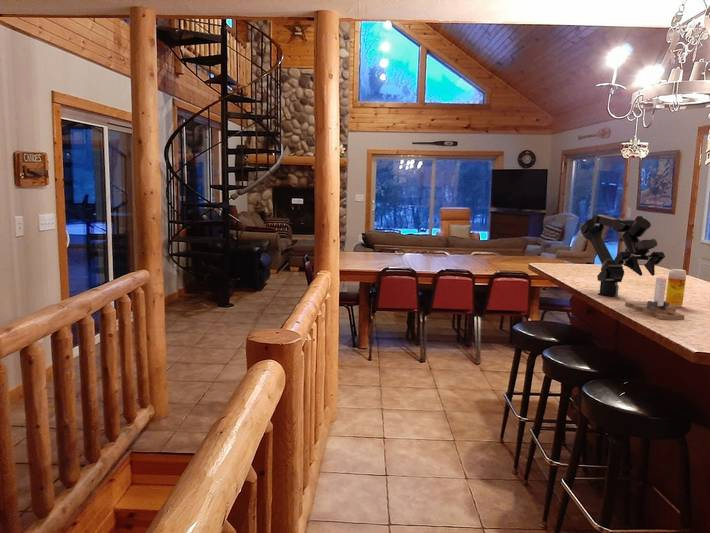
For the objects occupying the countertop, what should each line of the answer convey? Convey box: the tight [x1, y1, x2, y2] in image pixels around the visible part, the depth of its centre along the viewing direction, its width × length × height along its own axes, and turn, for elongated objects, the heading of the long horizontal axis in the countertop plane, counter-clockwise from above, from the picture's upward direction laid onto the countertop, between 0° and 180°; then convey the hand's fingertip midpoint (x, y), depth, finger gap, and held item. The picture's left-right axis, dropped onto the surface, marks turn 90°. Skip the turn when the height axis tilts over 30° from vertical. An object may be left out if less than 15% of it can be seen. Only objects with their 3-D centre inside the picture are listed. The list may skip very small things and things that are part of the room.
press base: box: [624, 300, 685, 320], centre depth 205 cm, size 22×9×5 cm, turn 7°
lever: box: [653, 277, 667, 308], centre depth 202 cm, size 2×3×12 cm
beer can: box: [665, 268, 687, 308], centre depth 216 cm, size 6×6×15 cm
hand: (647, 275), depth 209 cm, fingers open, 5 cm apart
